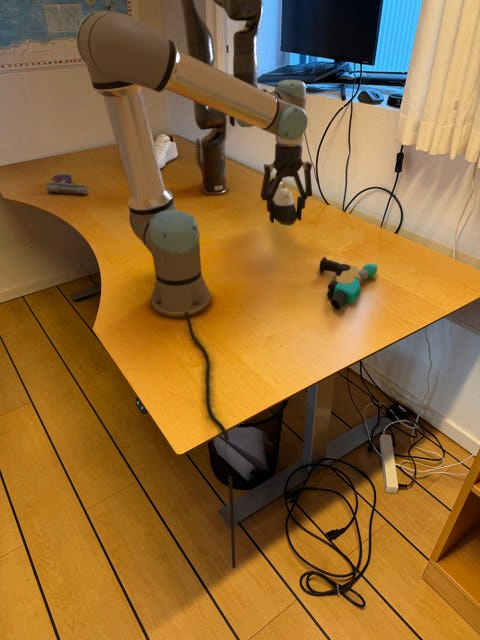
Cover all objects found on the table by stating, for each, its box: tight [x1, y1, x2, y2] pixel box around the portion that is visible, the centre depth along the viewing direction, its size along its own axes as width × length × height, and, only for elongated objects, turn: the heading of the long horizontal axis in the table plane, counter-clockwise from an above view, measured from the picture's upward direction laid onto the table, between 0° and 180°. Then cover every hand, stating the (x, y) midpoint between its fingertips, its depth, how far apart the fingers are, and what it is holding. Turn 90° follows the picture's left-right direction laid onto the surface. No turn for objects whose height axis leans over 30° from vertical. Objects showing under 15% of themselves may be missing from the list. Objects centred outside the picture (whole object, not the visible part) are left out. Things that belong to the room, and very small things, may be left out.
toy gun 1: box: [45, 173, 89, 195], centre depth 192 cm, size 4×19×15 cm
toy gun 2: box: [318, 256, 378, 312], centre depth 129 cm, size 4×26×15 cm
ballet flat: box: [267, 177, 298, 227], centre depth 149 cm, size 8×24×8 cm, turn 10°
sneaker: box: [154, 133, 179, 169], centre depth 214 cm, size 10×29×12 cm, turn 163°
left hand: (285, 219), depth 145 cm, fingers closed on ballet flat, 8 cm apart
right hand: (245, 125), depth 157 cm, fingers open, 8 cm apart
